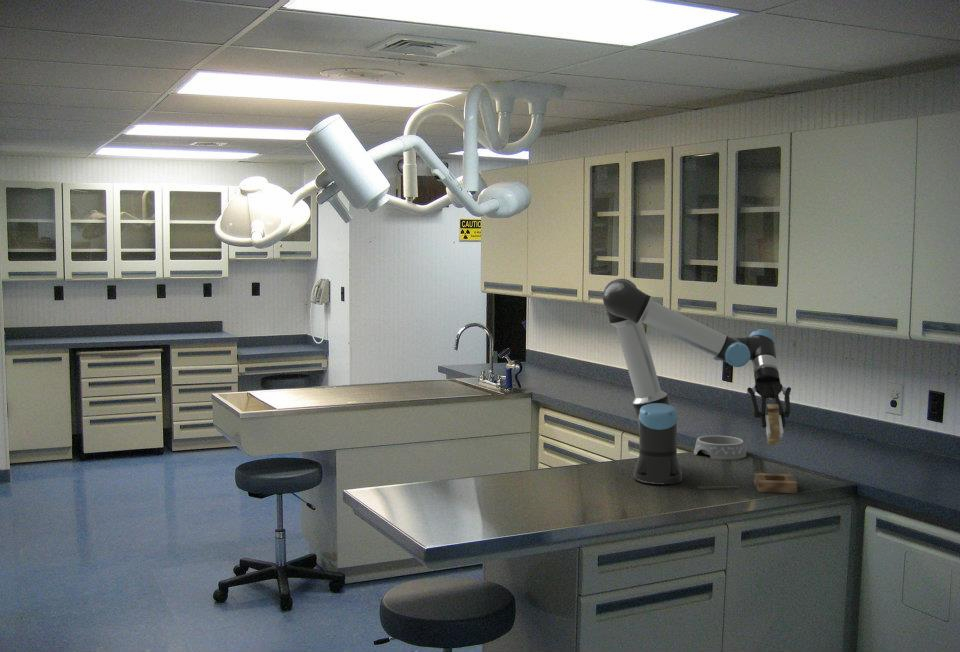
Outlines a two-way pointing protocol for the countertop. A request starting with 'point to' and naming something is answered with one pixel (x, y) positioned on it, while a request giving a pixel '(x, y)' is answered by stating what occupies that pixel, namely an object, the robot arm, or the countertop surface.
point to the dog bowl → (721, 447)
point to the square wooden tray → (775, 483)
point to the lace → (720, 487)
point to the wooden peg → (773, 423)
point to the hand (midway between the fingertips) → (775, 435)
